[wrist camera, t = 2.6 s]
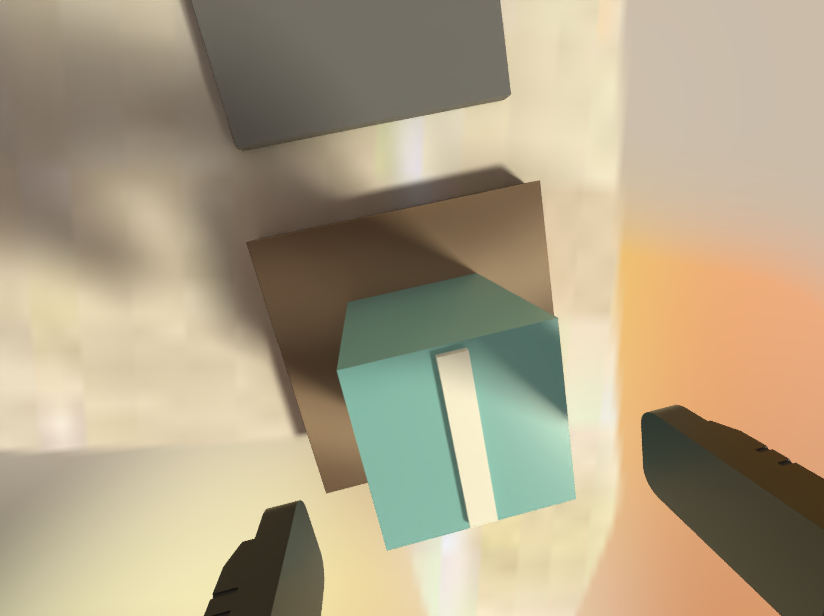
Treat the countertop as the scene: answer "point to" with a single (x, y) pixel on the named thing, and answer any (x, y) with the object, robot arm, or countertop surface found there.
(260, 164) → the countertop surface
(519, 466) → the striped teal box
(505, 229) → the post base
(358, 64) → the mat
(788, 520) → the robot arm
